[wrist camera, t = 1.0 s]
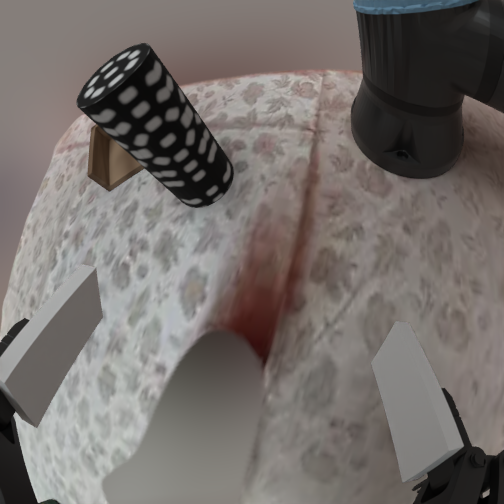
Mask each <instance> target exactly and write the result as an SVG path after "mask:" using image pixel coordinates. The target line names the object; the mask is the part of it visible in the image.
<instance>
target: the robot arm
mask: <svg viewBox="0 0 504 504" xmlns="http://www.w3.org/2000/svg"><path fill="white" fill-rule="evenodd" d="M353 4H354V9H355V10H356V13H357V21H358V28H359V37H360V46H361V55H362V70H363V79H362V82H361V85H360V88H359V91H358V94H357V96H356V98H355V99H354V102H353V104H352V108H351V129H352V133H353V137H354V139H355V141H356V143H357V145H358V146H359V148H360V149H361V150H362V152H363V153H364V154H365V155H366V156H367V157H368V158H369V159H371V160H372V161H373V162H375V163H376V164H377V165H379V166H381V167H382V168H384V169H386V170H388V171H390V172H393V173H395V174H398V175H402V176H406V177H412V178H429V177H434V176H438V175H440V174H443V173H445V172H446V171H448V170H449V169H450V168H451V167H452V166H453V165H454V164H455V162H456V161H457V159H458V156H459V154H460V152H461V149H462V146H463V142H464V131H463V125H462V103H463V99H464V95H466V96H469V97H471V98H473V99H476V100H478V101H480V102H482V103H484V104H486V105H488V106H490V107H492V108H494V109H496V110H498V111H500V112H502V113H504V0H354V2H353ZM102 318H103V313H102V308H101V301H100V295H99V287H98V280H97V271H96V268H95V267H91V266H87V265H83V264H82V265H81V266H80V267H79V268H78V269H77V270H76V271H75V272H74V273H73V274H72V275H71V276H70V277H69V278H68V279H67V280H66V281H65V282H64V283H63V284H62V285H61V286H60V287H59V288H58V289H57V290H56V291H55V293H54V294H53V295H52V296H51V297H50V298H49V299H48V300H47V301H46V302H45V303H44V305H43V306H42V307H41V308H40V309H39V310H38V311H37V313H36V314H35V315H34V316H33V317H32V318H31V319H30V320H28V319H26V318H24V319H23V320H21V321H19V322H18V323H16V324H15V325H14V326H13V327H12V328H11V329H10V331H9V332H8V333H7V335H5V337H4V338H3V339H2V340H1V342H0V504H38V502H37V499H36V497H35V494H34V491H33V488H32V485H31V482H30V479H29V476H28V472H27V469H26V466H25V462H24V458H23V454H22V450H21V446H20V442H19V437H18V432H17V427H16V422H15V419H14V416H13V415H14V413H15V411H16V412H17V413H18V415H19V416H20V417H21V419H23V420H24V421H26V422H28V423H29V424H31V425H33V426H34V427H36V428H37V427H38V426H39V424H40V422H41V420H42V418H43V416H44V414H45V412H46V410H47V408H48V406H49V405H50V403H51V401H52V399H53V397H54V396H55V394H56V392H57V390H58V388H59V387H60V385H61V383H62V382H63V380H64V378H65V376H66V375H67V373H68V371H69V370H70V368H71V366H72V365H73V363H74V361H75V360H76V358H77V356H78V355H79V353H80V352H81V350H82V348H83V347H84V345H85V344H86V342H87V341H88V339H89V337H90V336H91V334H92V333H93V331H94V330H95V328H96V327H97V325H98V324H99V322H100V321H101V319H102ZM371 365H372V368H373V371H374V375H375V378H376V381H377V384H378V388H379V391H380V395H381V398H382V402H383V405H384V409H385V412H386V416H387V420H388V424H389V427H390V431H391V435H392V439H393V443H394V447H395V452H396V456H397V460H398V465H399V469H400V474H401V479H402V483H405V482H409V481H413V480H417V479H419V478H421V477H422V476H424V475H425V474H428V478H427V479H426V480H424V481H423V482H421V483H419V484H418V485H416V486H415V487H414V488H413V489H412V490H413V491H415V490H416V489H418V488H420V487H421V489H420V490H418V491H417V493H418V495H417V497H416V499H415V501H414V503H413V504H504V450H503V451H502V452H500V453H499V454H498V455H497V456H492V455H486V454H485V453H484V451H483V450H482V449H480V448H479V447H472V445H471V443H470V440H469V438H468V435H467V432H466V430H465V427H464V425H463V422H462V420H461V417H459V412H458V410H457V409H456V405H455V403H454V401H453V398H452V396H451V395H450V394H449V393H448V392H447V390H446V389H445V388H441V387H440V385H439V383H438V380H437V378H436V376H435V374H434V372H433V370H432V367H431V365H430V363H429V361H428V359H427V357H426V355H425V353H424V351H423V349H422V347H421V345H420V343H419V341H418V339H417V337H416V335H415V333H414V331H413V329H412V327H411V326H410V324H409V322H399V321H395V323H394V325H393V327H392V329H391V330H390V332H389V334H388V336H387V337H386V339H385V341H384V342H383V344H382V346H381V347H380V349H379V351H378V352H377V354H376V356H375V357H374V359H373V360H372V362H371ZM489 489H490V493H489V495H488V496H486V497H485V498H483V496H482V494H483V493H484V492H485V491H487V490H489Z"/></svg>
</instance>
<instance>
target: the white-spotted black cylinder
mask: <svg viewBox="0 0 504 504" xmlns="http://www.w3.org/2000/svg"><path fill="white" fill-rule="evenodd" d="M77 106H78V108H80V109H81V110H82V111H83V112H84V113H85V114H86V115H87V116H88V117H89V118H90V119H91V120H93V121H94V122H95V123H96V124H97V125H98V126H99V127H100V128H101V129H102V130H103V131H105V132H106V133H107V134H108V135H109V136H110V137H111V138H112V139H113V140H114V141H115V142H117V143H118V144H119V145H120V146H121V147H122V148H123V149H124V150H125V151H126V152H128V153H129V154H130V155H131V156H132V157H133V158H134V159H135V160H136V161H137V162H139V163H140V164H141V165H142V166H143V167H144V168H145V169H146V170H147V171H148V172H150V173H151V174H152V175H153V176H154V177H155V178H156V179H157V180H158V181H160V182H161V183H162V184H163V185H164V186H165V187H166V188H167V189H168V190H169V191H171V192H172V193H173V194H174V195H175V196H176V197H177V198H178V199H179V200H181V201H182V202H183V203H184V204H186V205H187V206H190V207H196V208H197V207H204V206H208V205H210V204H212V203H214V202H215V201H217V200H218V199H220V198H221V197H222V196H223V195H224V194H225V193H226V191H227V190H228V189H229V187H230V185H231V183H232V180H233V174H234V172H233V166H232V164H231V162H230V161H229V159H228V158H227V156H226V155H225V153H224V152H223V150H222V149H221V147H220V146H219V144H218V143H217V141H216V140H215V138H214V137H213V135H212V134H211V132H210V131H209V129H208V128H207V126H206V125H205V123H204V122H203V121H202V119H201V118H200V116H199V115H198V113H197V112H196V110H195V109H194V107H193V106H192V104H191V103H190V102H189V100H188V99H187V97H186V96H185V94H184V93H183V92H182V90H181V89H180V87H179V86H178V84H177V83H176V82H175V80H174V79H173V78H172V76H171V74H170V73H169V72H168V70H167V69H166V68H165V66H164V65H163V63H162V62H161V61H160V59H159V58H158V56H157V55H156V54H155V52H154V51H153V49H152V48H151V47H150V45H149V44H146V43H141V44H137V45H134V46H132V47H129V48H127V49H125V50H124V51H122V52H121V53H119V54H117V55H115V56H114V57H113V58H111V59H110V60H109V61H107V62H106V63H105V64H104V65H103V66H102V67H100V68H99V69H98V70H97V71H96V72H95V73H94V74H93V75H92V77H91V78H90V79H89V80H88V81H87V83H86V84H85V85H84V87H83V89H82V90H81V91H80V93H79V95H78V98H77Z"/></svg>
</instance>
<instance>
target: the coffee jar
mask: <svg viewBox="0 0 504 504" xmlns="http://www.w3.org/2000/svg"><path fill="white" fill-rule="evenodd" d="M38 504H58V503H57V502H56V501H55V500H52V499H50V500H46V501H43V502H40V503H38Z"/></svg>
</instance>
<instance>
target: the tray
mask: <svg viewBox="0 0 504 504" xmlns="http://www.w3.org/2000/svg"><path fill="white" fill-rule="evenodd" d="M142 169H144V167H143V166H142V165H141V164H140V163H139V162H137V161H136V160H135V159H134V158H133V157H132V156H131V155H130V154H129V153H128V152H126V151H125V150H124V149H123V148H122V147H121V146H120V145H119V144H118V143H117V142H115V141H114V140H113V139H112V138H111V137H110V136H109V135H108V134H107V133H106V132H105V131H103V130H102V129H101V128H100V127H99V126H98V125H97V124H96V125H95V126H93V127H92V128H91V137H90V147H89V160H88V177H89V178H91V179H92V180H94V181H95V182H96V183H98V184H99V185H101V186H102V187H103V188H105V189H106V190H108V191H111V190H112V189H114V188H115V187H117V186H118V185H120V184H121V183H123V182H124V181H125V180H127V179H128V178H130V177H131V176H133V175H135V174H136V173H138V172H139V171H141V170H142Z"/></svg>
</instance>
